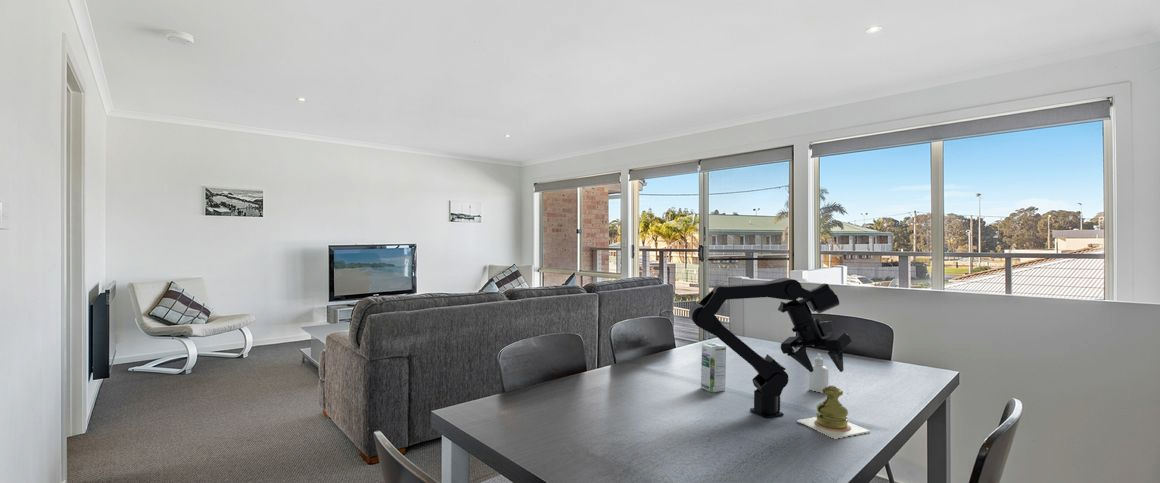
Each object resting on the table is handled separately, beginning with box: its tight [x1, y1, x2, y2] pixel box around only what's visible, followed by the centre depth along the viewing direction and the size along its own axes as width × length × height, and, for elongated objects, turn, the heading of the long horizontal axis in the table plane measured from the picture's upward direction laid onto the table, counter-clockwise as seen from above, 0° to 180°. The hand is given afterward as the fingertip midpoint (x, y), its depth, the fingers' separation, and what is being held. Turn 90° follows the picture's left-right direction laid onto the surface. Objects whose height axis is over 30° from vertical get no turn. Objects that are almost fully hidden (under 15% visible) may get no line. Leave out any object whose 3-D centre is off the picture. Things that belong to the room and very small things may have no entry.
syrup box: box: [700, 342, 727, 393], centre depth 160 cm, size 6×6×14 cm
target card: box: [796, 416, 871, 440], centre depth 129 cm, size 12×12×1 cm
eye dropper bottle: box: [808, 353, 830, 394], centre depth 159 cm, size 4×6×12 cm
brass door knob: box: [815, 385, 849, 429], centre depth 129 cm, size 7×7×10 cm
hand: (826, 371), depth 138 cm, fingers open, 9 cm apart
